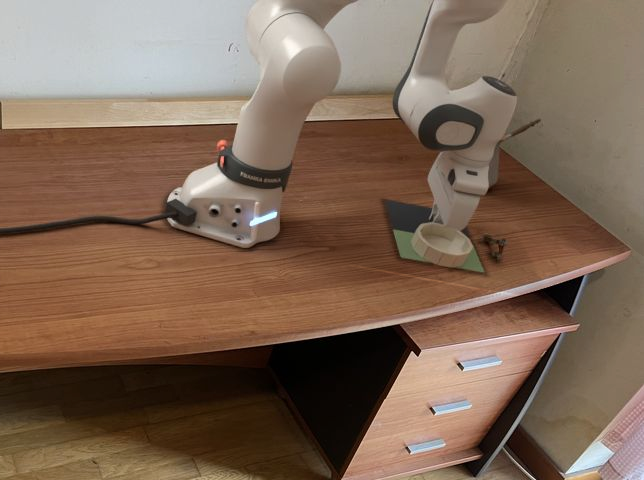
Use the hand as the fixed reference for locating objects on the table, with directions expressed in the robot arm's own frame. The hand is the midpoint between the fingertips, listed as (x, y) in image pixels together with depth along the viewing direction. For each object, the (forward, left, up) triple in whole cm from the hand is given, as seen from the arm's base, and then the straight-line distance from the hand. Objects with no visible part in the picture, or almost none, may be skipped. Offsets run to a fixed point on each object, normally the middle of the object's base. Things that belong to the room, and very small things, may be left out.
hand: (433, 224), depth 148 cm
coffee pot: (+18, +28, -2) cm, 34 cm away
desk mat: (0, -2, -2) cm, 2 cm away
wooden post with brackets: (+12, -4, -2) cm, 13 cm away
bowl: (0, -8, -1) cm, 8 cm away
